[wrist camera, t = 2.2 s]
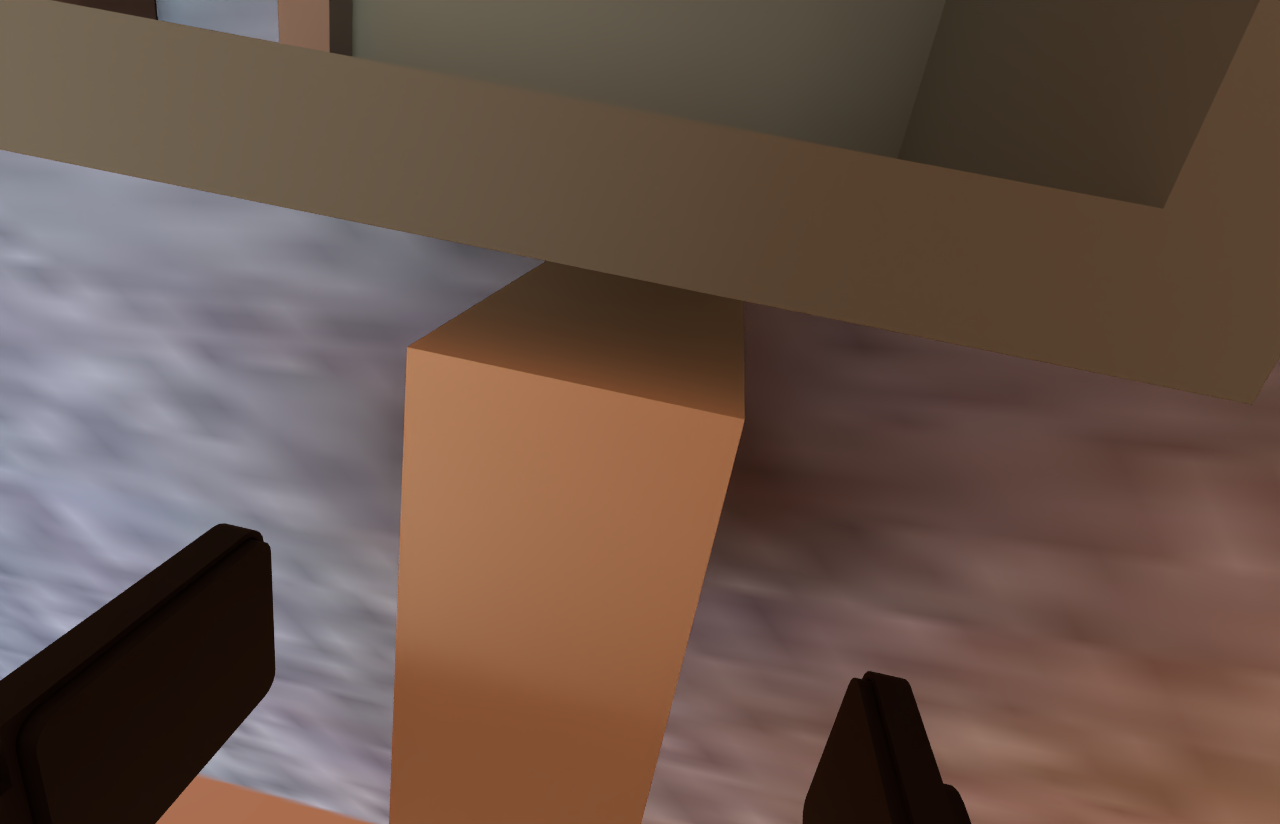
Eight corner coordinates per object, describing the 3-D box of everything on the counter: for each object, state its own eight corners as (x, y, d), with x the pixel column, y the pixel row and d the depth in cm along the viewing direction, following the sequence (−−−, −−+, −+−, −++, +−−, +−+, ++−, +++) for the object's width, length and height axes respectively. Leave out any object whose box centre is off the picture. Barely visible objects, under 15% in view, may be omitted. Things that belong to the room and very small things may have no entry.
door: (743, 247, 15) (745, 420, 6) (654, 633, 19) (573, 1086, 10) (567, 212, 15) (299, 323, 6) (518, 601, 19) (318, 1014, 10)
